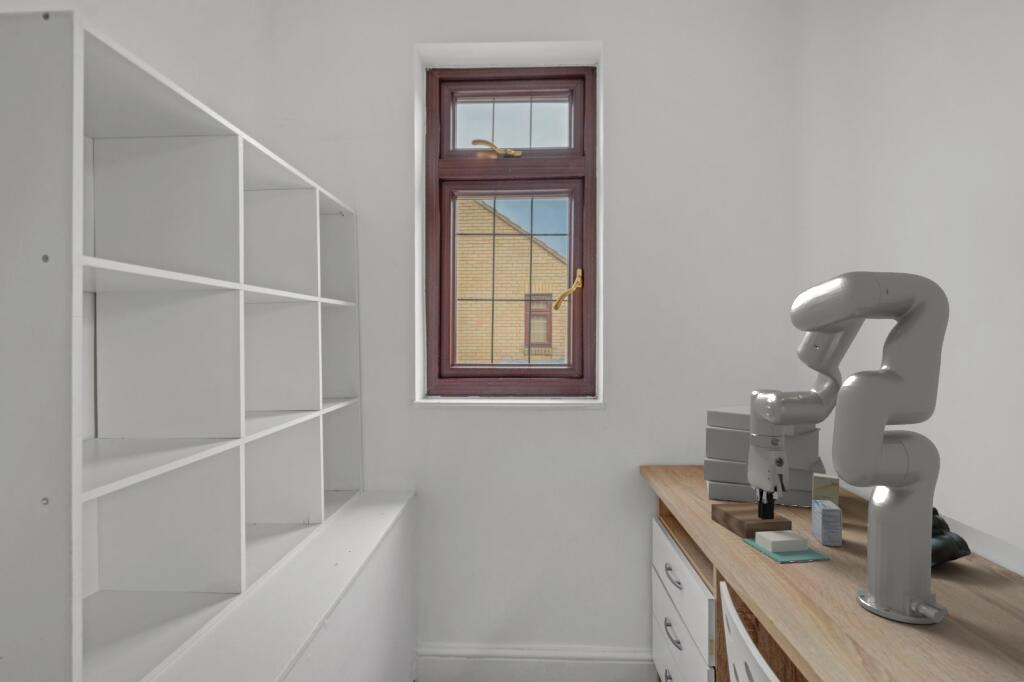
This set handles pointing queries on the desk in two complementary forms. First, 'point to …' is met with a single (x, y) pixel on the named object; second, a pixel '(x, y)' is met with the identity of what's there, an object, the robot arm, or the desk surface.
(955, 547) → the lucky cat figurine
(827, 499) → the skincare box
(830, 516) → the medicine box
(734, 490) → the book stack
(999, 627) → the desk surface
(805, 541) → the white rectangular block
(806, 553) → the mat
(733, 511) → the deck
